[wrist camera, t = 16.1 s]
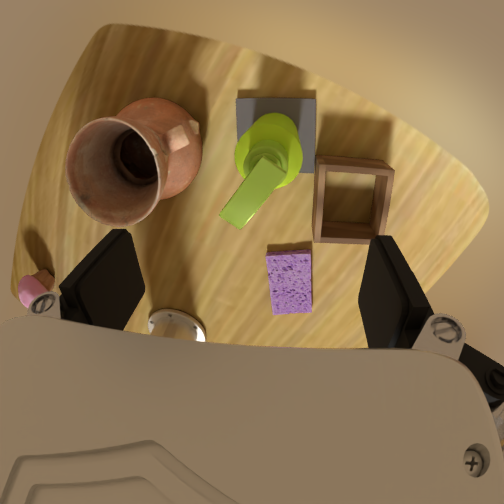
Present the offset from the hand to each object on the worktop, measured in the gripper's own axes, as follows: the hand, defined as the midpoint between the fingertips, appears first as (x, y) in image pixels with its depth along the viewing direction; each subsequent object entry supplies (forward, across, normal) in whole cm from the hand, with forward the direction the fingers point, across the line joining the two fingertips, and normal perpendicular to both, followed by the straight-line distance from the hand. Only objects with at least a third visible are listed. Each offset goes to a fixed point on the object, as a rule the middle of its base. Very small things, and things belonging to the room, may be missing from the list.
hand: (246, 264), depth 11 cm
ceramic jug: (+30, +17, +1) cm, 35 cm away
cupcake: (+30, +52, +27) cm, 66 cm away
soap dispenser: (+29, 0, 0) cm, 29 cm away
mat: (+30, 0, 0) cm, 30 cm away
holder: (+30, -10, +8) cm, 33 cm away
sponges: (+31, -3, +24) cm, 39 cm away
